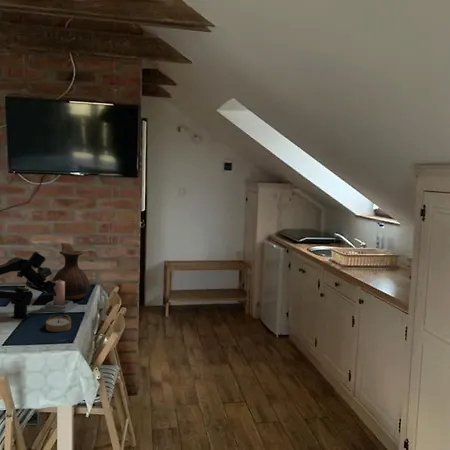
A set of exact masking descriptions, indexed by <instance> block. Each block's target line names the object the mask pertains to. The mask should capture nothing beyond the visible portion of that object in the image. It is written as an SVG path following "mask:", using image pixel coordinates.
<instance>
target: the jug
mask: <svg viewBox="0 0 450 450" xmlns="http://www.w3.org/2000/svg"><path fill="white" fill-rule="evenodd" d="M60 245H61V251H59V254H60V255H62V256H63V257H64V265H63V267H62V268H60V269H59V270H58V271H57V272H56V274H55V275H54V277H53V278H52V280H51V281H59V279H60V281H65V301H74V300H81V299H82V298H84V297H85V296H86V295H87V294H88V293H89V291H90V289H91V284H90V280H89V277H87V275H86V273H85V272H84V271H83V270H82V269H81V268H80V267H79V264H78V263H79V261H78V260H79V257H80V256H82V255H83V254H84V252H83V251H82V250H74V248H73V246H72V244H71V243H70V242H69V243H67V242H66V243H65V242H61V243H60Z"/></svg>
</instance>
